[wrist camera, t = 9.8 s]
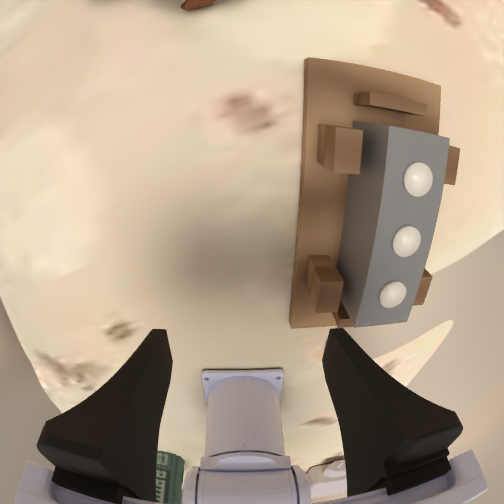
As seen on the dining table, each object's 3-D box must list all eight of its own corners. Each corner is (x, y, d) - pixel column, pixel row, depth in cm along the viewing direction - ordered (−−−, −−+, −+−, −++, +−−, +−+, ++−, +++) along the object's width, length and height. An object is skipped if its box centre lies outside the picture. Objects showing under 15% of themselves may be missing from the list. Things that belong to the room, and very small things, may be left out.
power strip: (379, 282, 22) (408, 324, 17) (333, 284, 22) (355, 330, 17) (405, 128, 17) (452, 139, 12) (352, 120, 16) (392, 126, 12)
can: (158, 464, 39) (149, 536, 26) (140, 450, 37) (128, 529, 23) (189, 464, 39) (184, 541, 25) (173, 451, 36) (165, 535, 23)
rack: (393, 313, 25) (413, 345, 21) (289, 320, 24) (297, 359, 20) (433, 86, 16) (471, 86, 12) (304, 60, 16) (323, 46, 11)
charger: (368, 445, 39) (342, 474, 46) (317, 453, 38) (299, 480, 45) (375, 467, 35) (346, 492, 42) (322, 477, 34) (302, 499, 41)
